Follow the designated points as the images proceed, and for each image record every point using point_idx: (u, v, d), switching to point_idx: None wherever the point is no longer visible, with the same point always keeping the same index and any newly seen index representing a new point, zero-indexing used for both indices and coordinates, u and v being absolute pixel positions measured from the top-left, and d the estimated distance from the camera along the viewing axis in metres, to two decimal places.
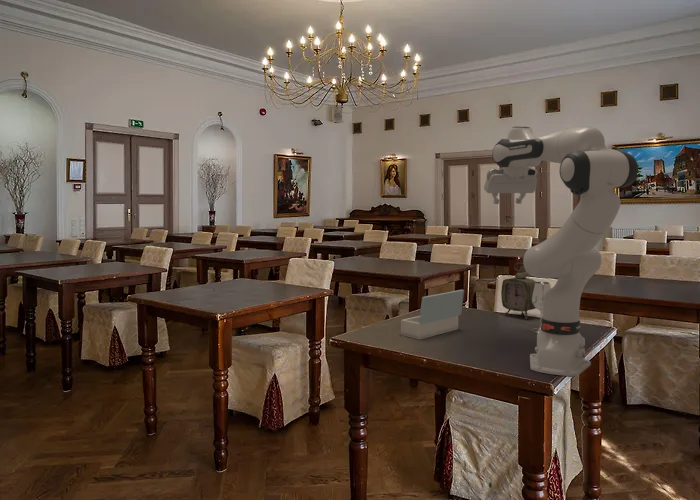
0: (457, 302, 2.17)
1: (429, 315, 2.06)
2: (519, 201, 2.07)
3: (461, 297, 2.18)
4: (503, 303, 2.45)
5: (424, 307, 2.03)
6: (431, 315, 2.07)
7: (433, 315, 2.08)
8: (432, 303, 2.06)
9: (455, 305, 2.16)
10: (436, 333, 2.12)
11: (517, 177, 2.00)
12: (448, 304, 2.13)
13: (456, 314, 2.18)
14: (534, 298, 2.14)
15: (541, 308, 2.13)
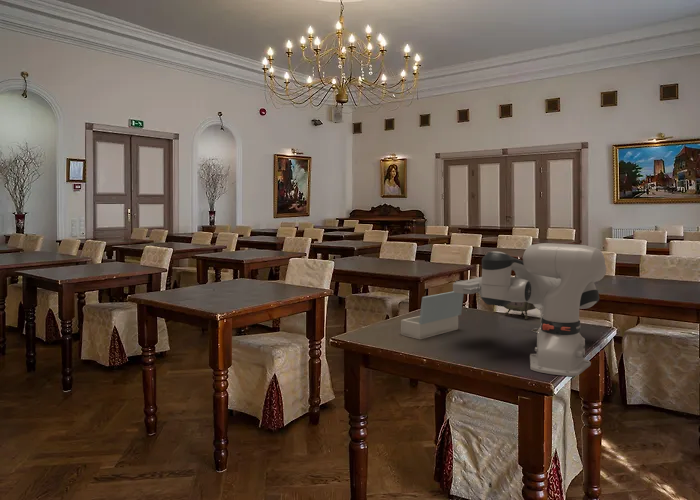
0: (457, 302, 2.17)
1: (429, 315, 2.06)
2: None
3: (461, 297, 2.18)
4: None
5: (424, 307, 2.03)
6: (431, 315, 2.07)
7: (433, 315, 2.08)
8: (432, 303, 2.06)
9: (455, 305, 2.16)
10: (436, 333, 2.12)
11: None
12: (448, 304, 2.13)
13: (456, 314, 2.18)
14: None
15: (541, 308, 2.13)
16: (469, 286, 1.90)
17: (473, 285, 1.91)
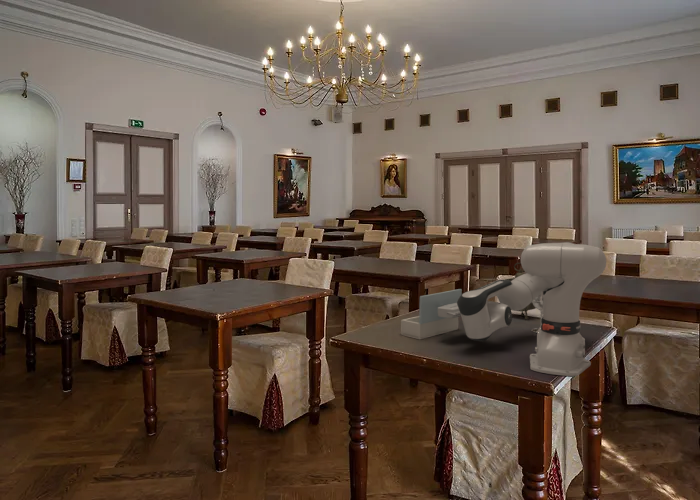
0: (456, 301, 2.17)
1: (428, 314, 2.06)
2: None
3: (459, 296, 2.19)
4: None
5: (422, 306, 2.04)
6: (430, 314, 2.07)
7: (432, 315, 2.08)
8: (430, 302, 2.07)
9: None
10: (436, 333, 2.12)
11: None
12: (447, 303, 2.14)
13: None
14: None
15: (541, 308, 2.13)
16: (452, 310, 1.97)
17: (456, 309, 1.98)
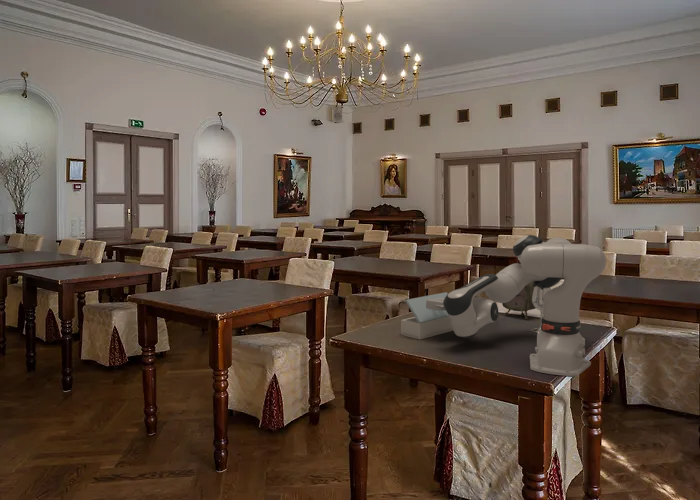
0: None
1: (424, 314, 2.08)
2: None
3: None
4: (503, 303, 2.45)
5: (413, 307, 2.08)
6: (426, 314, 2.09)
7: (428, 314, 2.10)
8: (419, 303, 2.11)
9: None
10: (436, 333, 2.12)
11: None
12: None
13: None
14: (534, 298, 2.14)
15: (541, 308, 2.13)
16: (440, 303, 2.01)
17: None
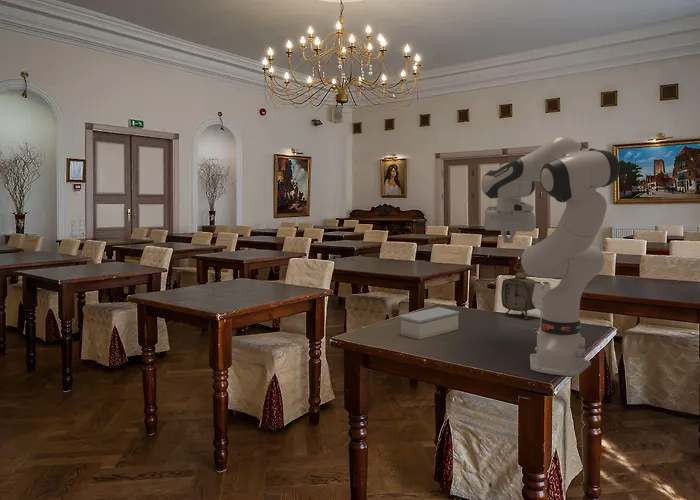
0: (442, 310, 2.23)
1: (420, 317, 2.10)
2: (508, 240, 2.01)
3: (442, 308, 2.26)
4: (503, 303, 2.45)
5: (407, 317, 2.10)
6: (423, 317, 2.10)
7: (426, 317, 2.11)
8: (413, 315, 2.14)
9: (442, 311, 2.22)
10: (436, 333, 2.12)
11: (505, 213, 1.99)
12: (433, 312, 2.19)
13: (453, 312, 2.19)
14: (534, 298, 2.14)
15: (541, 308, 2.13)
16: None
17: None
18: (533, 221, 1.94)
